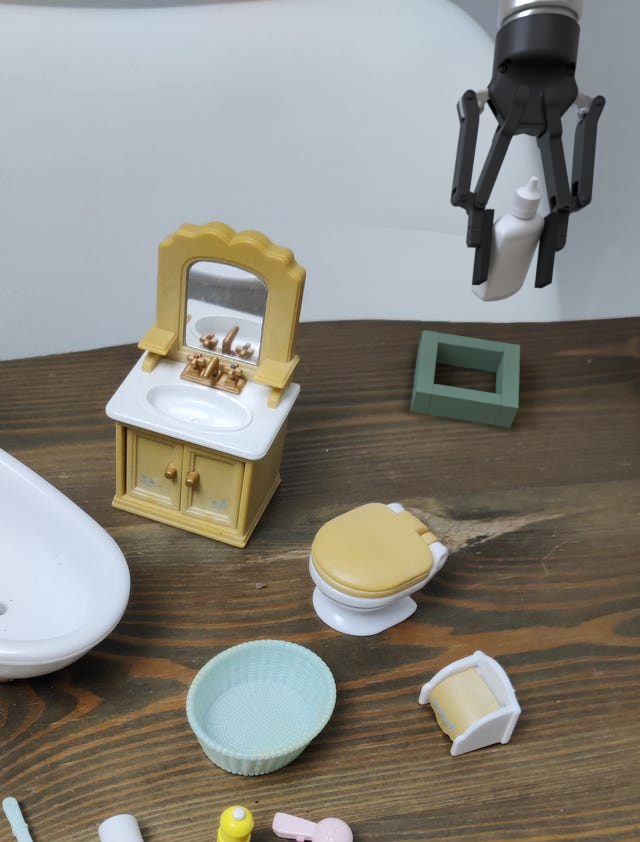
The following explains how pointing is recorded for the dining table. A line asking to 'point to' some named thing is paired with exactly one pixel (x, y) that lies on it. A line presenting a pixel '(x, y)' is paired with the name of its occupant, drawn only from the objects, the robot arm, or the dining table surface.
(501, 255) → the eye dropper bottle
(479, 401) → the socket pad
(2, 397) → the dining table surface
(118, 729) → the dining table surface
